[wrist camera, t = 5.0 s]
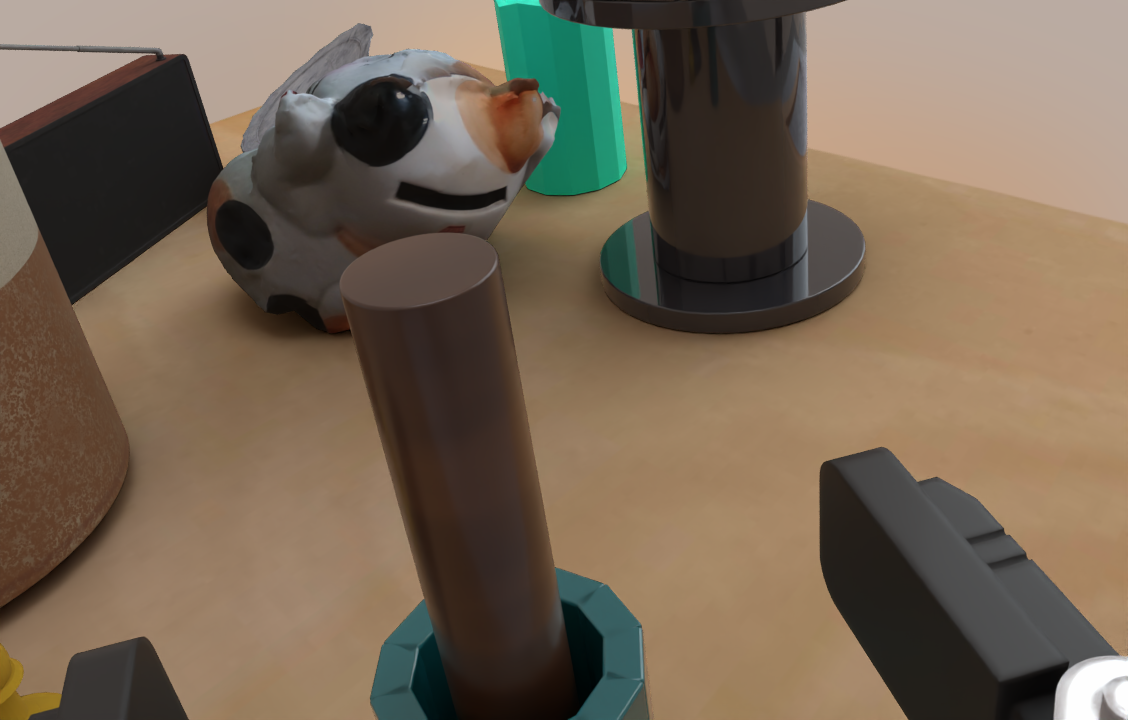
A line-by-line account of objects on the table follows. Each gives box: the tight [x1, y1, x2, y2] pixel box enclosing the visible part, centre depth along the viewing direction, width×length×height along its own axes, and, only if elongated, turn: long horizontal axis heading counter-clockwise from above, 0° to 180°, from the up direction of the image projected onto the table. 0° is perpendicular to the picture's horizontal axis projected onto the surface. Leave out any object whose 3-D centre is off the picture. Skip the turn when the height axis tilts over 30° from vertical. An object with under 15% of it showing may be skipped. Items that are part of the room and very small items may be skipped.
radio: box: [0, 44, 223, 305], centre depth 55 cm, size 19×3×15 cm, turn 161°
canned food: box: [241, 23, 373, 153], centre depth 64 cm, size 11×10×10 cm
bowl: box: [539, 0, 866, 333], centre depth 44 cm, size 14×14×20 cm
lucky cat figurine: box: [207, 49, 561, 333], centre depth 49 cm, size 15×12×14 cm
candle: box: [494, 0, 627, 195], centre depth 58 cm, size 6×6×12 cm
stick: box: [339, 233, 580, 720], centre depth 20 cm, size 2×2×16 cm
